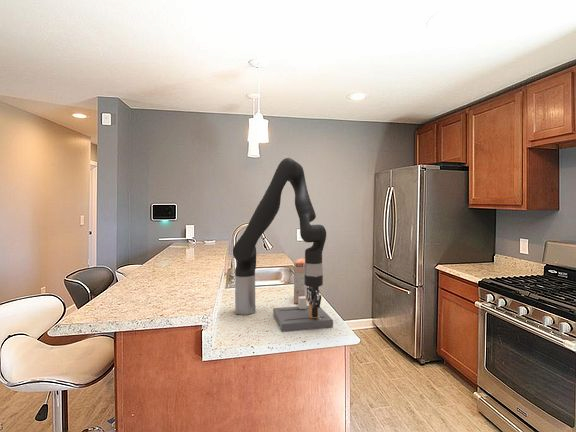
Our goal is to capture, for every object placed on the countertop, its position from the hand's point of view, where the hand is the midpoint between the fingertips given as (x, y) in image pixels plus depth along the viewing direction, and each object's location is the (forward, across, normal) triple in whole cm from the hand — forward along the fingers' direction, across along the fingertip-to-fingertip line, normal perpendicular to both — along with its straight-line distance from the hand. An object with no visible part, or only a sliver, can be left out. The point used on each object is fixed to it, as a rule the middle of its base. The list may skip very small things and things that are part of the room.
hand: (313, 315), depth 132 cm
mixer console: (+4, -6, -4) cm, 8 cm away
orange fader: (+1, 0, 0) cm, 1 cm away
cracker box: (+4, -35, +4) cm, 35 cm away
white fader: (+1, -12, -2) cm, 12 cm away
